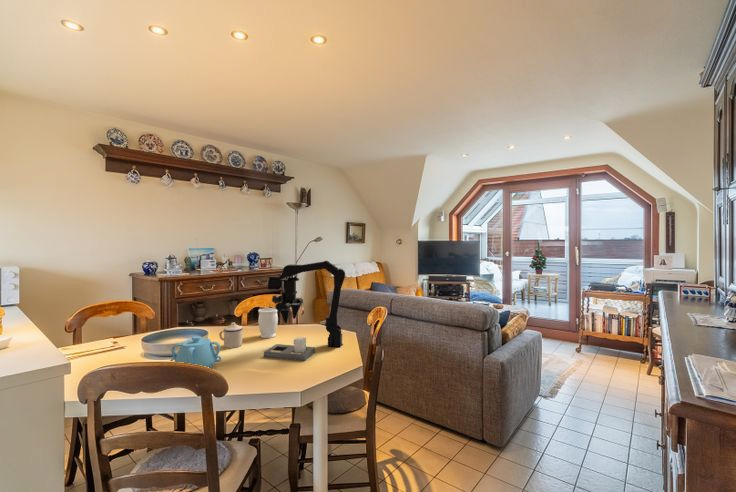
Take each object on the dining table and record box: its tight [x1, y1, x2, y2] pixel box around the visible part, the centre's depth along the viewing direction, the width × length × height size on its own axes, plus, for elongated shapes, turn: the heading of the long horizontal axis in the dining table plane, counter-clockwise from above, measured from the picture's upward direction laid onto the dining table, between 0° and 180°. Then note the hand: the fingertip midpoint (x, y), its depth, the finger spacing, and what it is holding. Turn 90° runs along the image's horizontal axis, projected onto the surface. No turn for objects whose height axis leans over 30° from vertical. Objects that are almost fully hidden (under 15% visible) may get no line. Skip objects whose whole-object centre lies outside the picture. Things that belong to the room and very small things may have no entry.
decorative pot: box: [169, 335, 222, 369], centre depth 141 cm, size 16×16×14 cm
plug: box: [293, 336, 307, 353], centre depth 158 cm, size 5×4×8 cm
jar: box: [258, 307, 279, 339], centre depth 191 cm, size 11×10×15 cm
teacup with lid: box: [219, 322, 244, 349], centre depth 174 cm, size 12×9×12 cm
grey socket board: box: [263, 343, 316, 362], centre depth 159 cm, size 20×12×3 cm, turn 78°
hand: (289, 320), depth 173 cm, fingers open, 9 cm apart
